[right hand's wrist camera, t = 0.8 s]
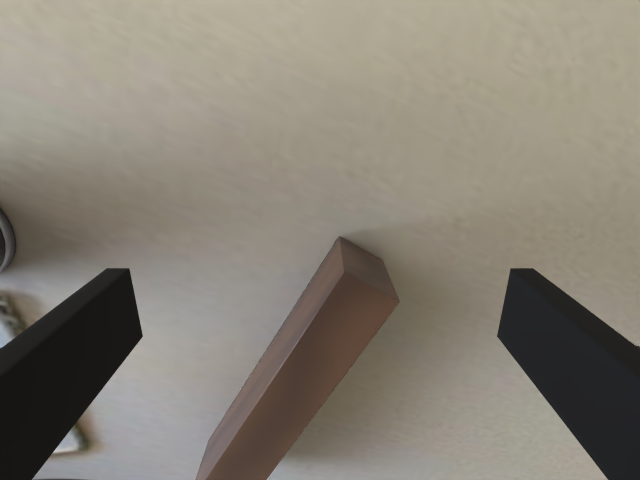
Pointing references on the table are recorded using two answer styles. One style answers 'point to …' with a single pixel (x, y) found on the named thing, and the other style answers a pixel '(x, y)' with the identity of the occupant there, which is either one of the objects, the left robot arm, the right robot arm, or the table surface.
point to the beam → (302, 364)
